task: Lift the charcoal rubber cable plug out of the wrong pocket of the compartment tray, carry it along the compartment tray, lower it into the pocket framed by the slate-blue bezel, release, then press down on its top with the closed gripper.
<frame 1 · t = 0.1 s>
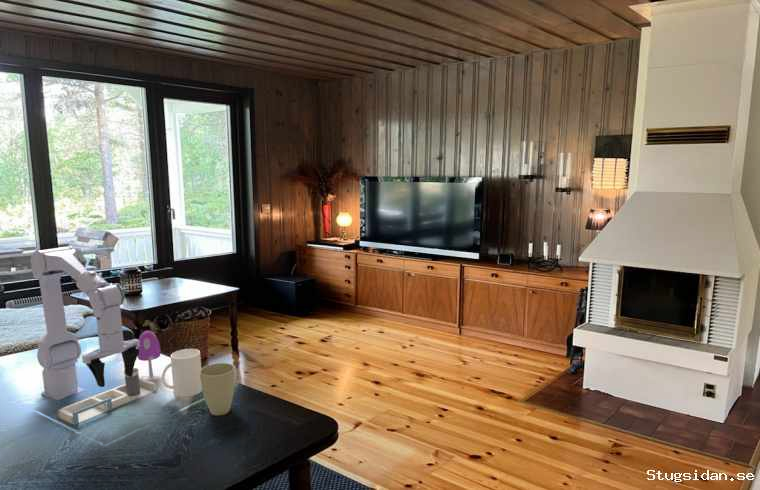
hand: (115, 380, 139), 10 cm above the table, fingers open, 7 cm apart
compartment tray: (110, 404, 148), on the table
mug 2: (219, 410, 144), on the table
plug: (133, 393, 153), point 1 cm above the table, touching compartment tray
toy: (151, 376, 167), on the table
mug: (183, 394, 154), on the table
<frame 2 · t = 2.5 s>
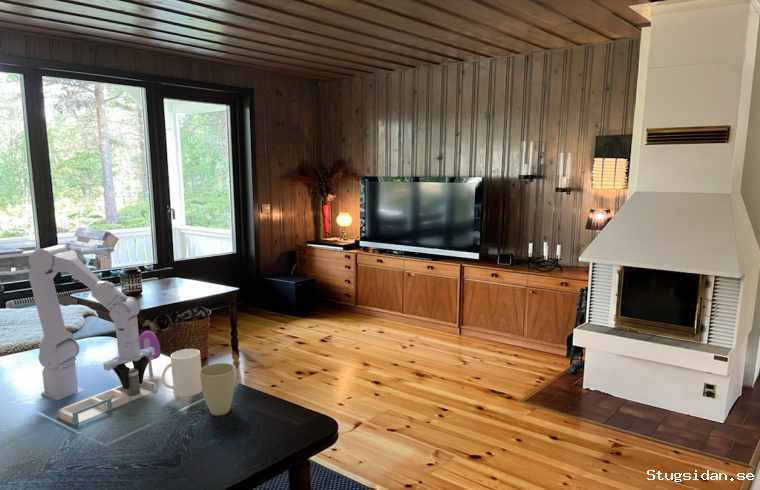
hand: (132, 385, 153), 3 cm above the table, fingers closed on plug, 4 cm apart
plug: (133, 393, 153), point 1 cm above the table, touching compartment tray, gripper
everything else where it was.
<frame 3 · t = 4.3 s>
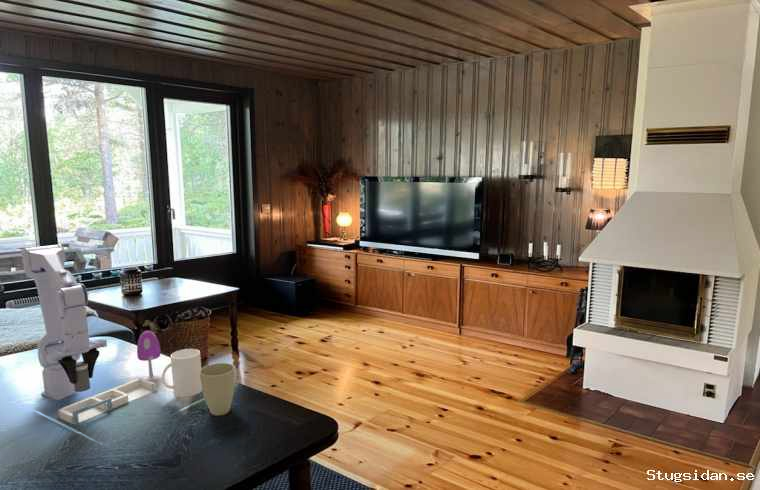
hand: (81, 380, 140), 10 cm above the table, fingers closed on plug, 4 cm apart
plug: (82, 388, 141), point 7 cm above the table, touching gripper
everything else where it was.
when the fingers open (4 cm above the table, at t = 6.1 s): plug stays where it is, resting on compartment tray.
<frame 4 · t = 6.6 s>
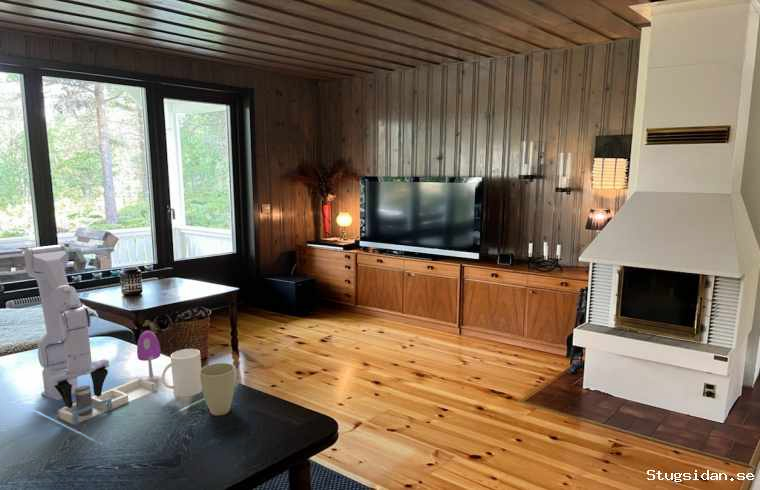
hand: (83, 401, 141), 4 cm above the table, fingers open, 7 cm apart
plug: (85, 412, 142), point 1 cm above the table, touching compartment tray
everything else where it was.
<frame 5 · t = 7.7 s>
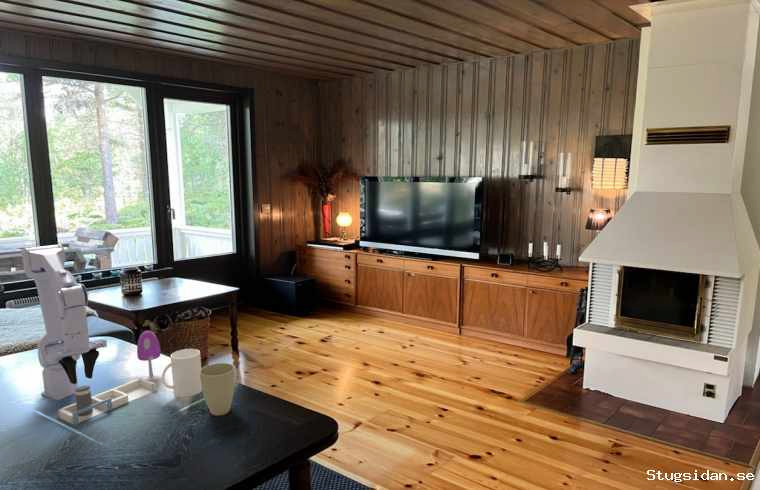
hand: (81, 380, 140), 10 cm above the table, fingers open, 3 cm apart
nothing on the table moved.
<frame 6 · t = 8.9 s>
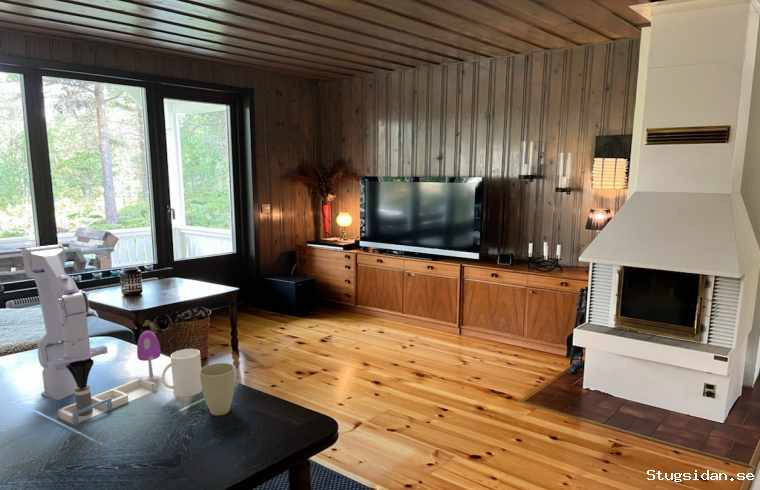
hand: (82, 387, 141), 8 cm above the table, fingers closed
nothing on the table moved.
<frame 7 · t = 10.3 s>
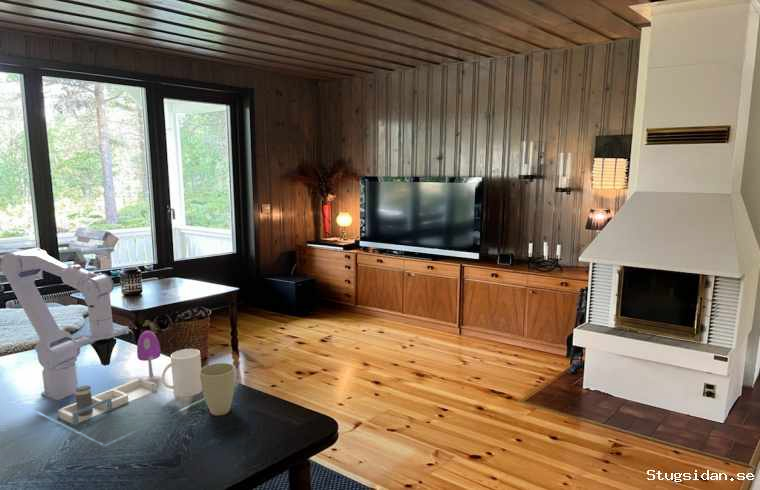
hand: (105, 364, 150), 10 cm above the table, fingers closed
nothing on the table moved.
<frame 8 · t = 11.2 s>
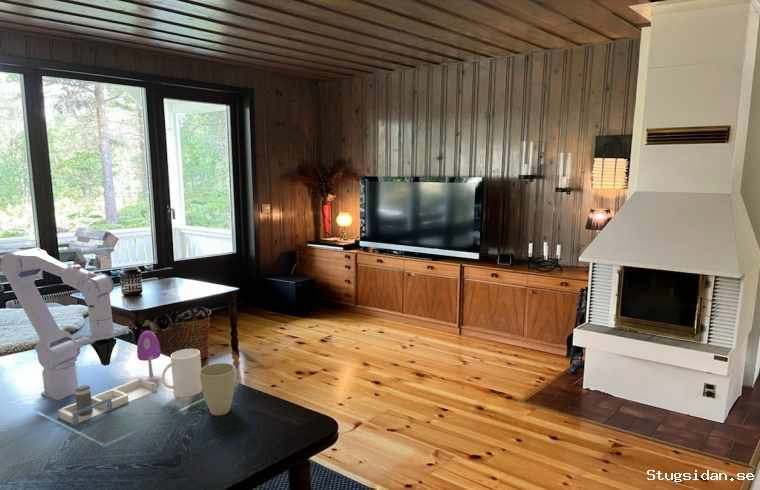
hand: (105, 364, 150), 10 cm above the table, fingers closed
nothing on the table moved.
at the end: plug 0.1 cm from the target spot on the compartment tray, point 0.6 cm above the compartment tray's base; plug tilted 1°; the gripper is holding nothing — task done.
